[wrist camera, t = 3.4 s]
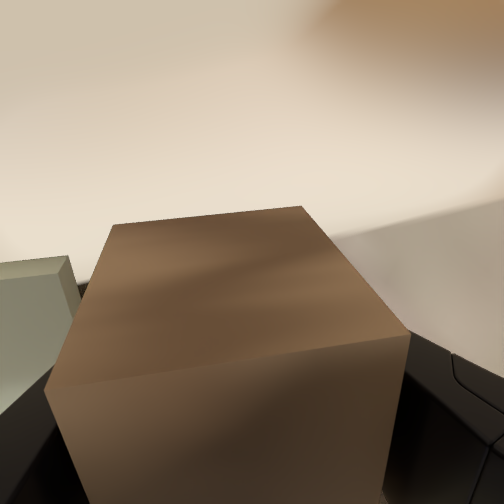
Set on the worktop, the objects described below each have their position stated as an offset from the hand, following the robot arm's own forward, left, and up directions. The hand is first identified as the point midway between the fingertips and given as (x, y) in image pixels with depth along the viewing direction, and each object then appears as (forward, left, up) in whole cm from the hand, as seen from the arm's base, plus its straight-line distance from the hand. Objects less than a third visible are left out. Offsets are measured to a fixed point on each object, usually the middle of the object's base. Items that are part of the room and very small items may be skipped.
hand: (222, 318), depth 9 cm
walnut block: (0, 0, -1) cm, 1 cm away
